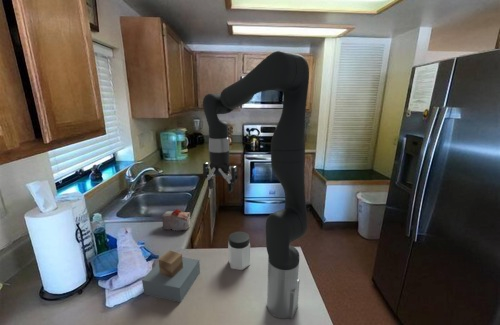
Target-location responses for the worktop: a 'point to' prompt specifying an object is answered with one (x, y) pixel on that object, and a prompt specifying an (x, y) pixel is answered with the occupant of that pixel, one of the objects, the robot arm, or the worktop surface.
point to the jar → (239, 250)
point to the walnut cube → (170, 263)
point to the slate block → (172, 281)
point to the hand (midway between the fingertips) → (220, 190)
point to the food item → (176, 220)
